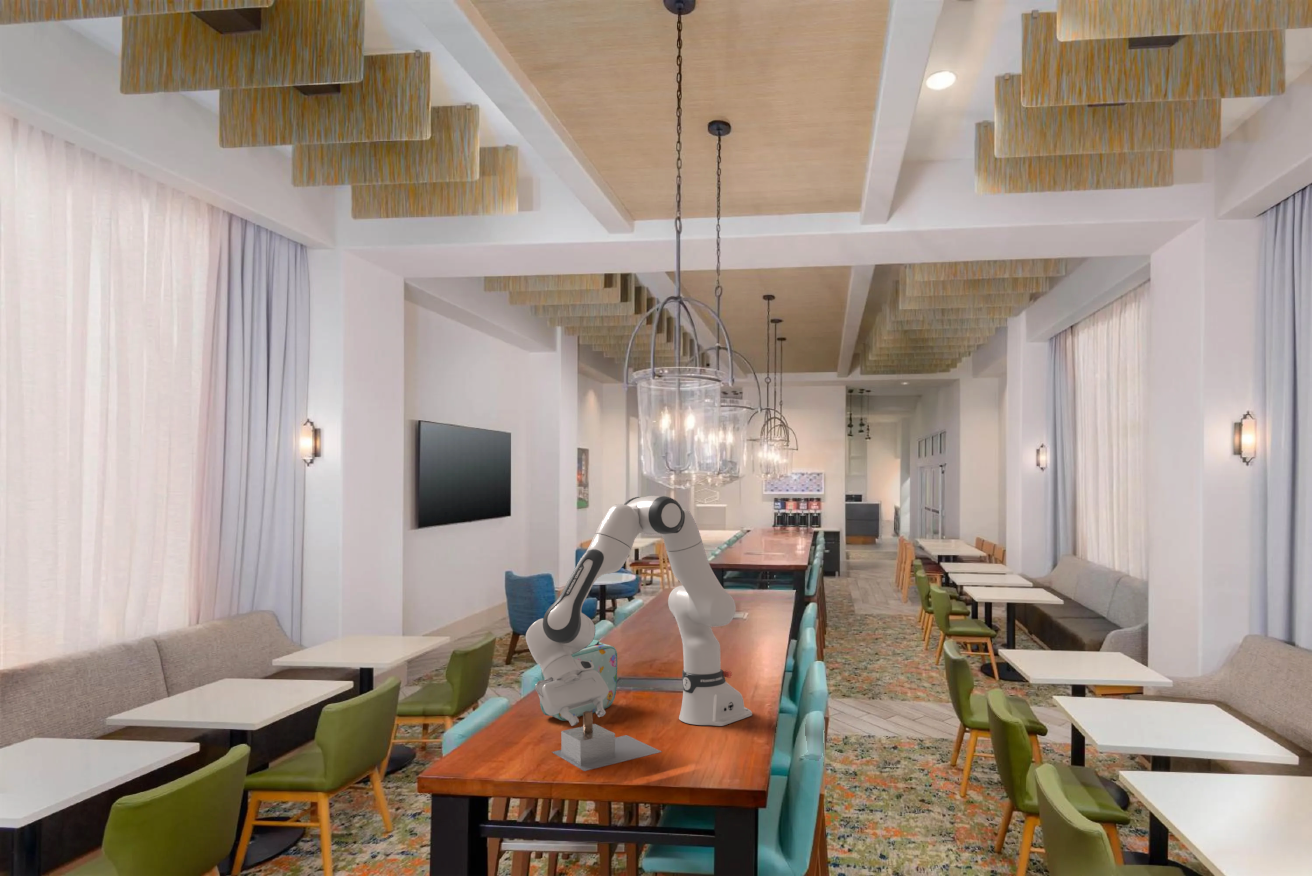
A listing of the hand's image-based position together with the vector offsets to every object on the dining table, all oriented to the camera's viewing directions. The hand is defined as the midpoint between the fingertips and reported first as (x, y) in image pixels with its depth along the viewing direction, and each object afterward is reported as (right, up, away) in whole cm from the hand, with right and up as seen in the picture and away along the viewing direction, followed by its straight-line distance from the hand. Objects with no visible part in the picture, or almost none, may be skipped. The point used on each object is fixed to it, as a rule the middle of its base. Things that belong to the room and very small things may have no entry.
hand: (589, 719), depth 204 cm
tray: (+4, -11, +3) cm, 12 cm away
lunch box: (-6, -13, +43) cm, 45 cm away
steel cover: (0, -9, 0) cm, 9 cm away
